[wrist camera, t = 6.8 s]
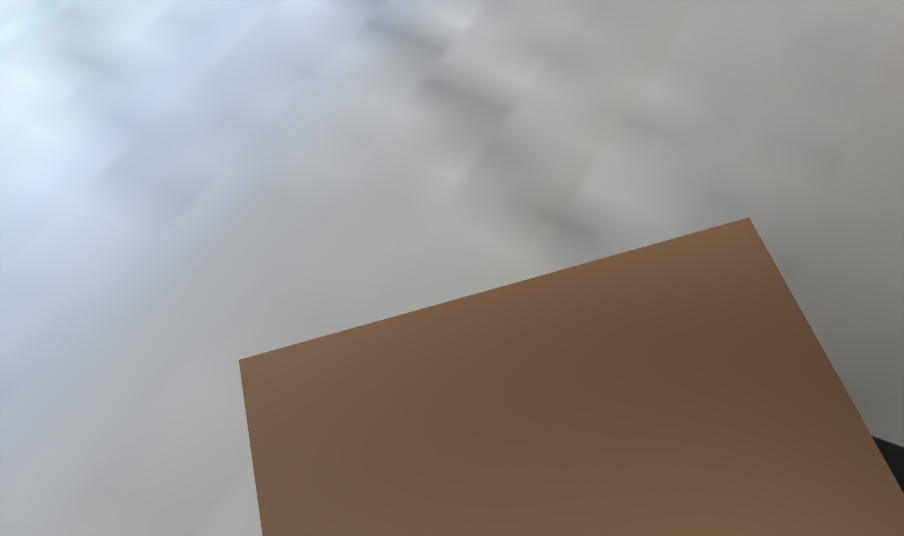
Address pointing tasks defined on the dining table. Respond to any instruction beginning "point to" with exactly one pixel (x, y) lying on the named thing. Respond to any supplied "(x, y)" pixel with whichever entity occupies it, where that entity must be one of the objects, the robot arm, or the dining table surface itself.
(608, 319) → the wooden cuboid post
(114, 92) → the dining table surface
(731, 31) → the dining table surface
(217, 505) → the dining table surface
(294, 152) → the dining table surface
